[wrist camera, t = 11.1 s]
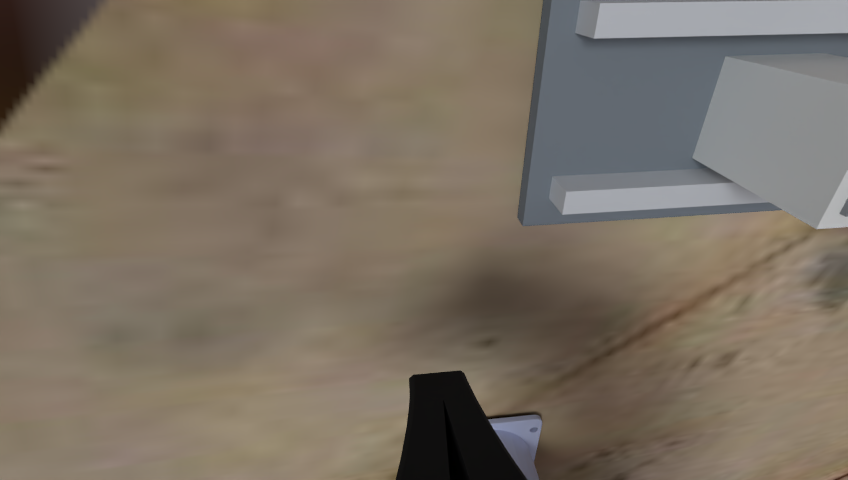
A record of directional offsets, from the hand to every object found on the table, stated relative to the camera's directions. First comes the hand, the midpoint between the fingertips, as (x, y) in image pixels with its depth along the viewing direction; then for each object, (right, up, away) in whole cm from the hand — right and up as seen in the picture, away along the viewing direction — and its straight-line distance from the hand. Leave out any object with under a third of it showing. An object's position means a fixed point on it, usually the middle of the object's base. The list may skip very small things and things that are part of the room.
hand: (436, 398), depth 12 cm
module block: (+13, +9, +6) cm, 17 cm away
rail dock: (+13, +10, +7) cm, 18 cm away
